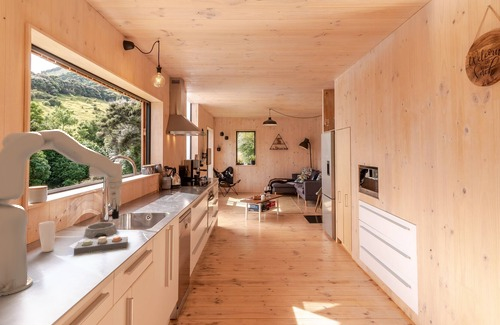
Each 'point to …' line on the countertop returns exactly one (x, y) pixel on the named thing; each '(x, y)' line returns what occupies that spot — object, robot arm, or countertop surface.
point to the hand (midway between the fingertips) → (115, 218)
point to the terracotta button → (116, 239)
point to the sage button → (87, 242)
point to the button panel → (100, 246)
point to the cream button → (102, 240)
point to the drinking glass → (47, 235)
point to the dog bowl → (100, 229)
